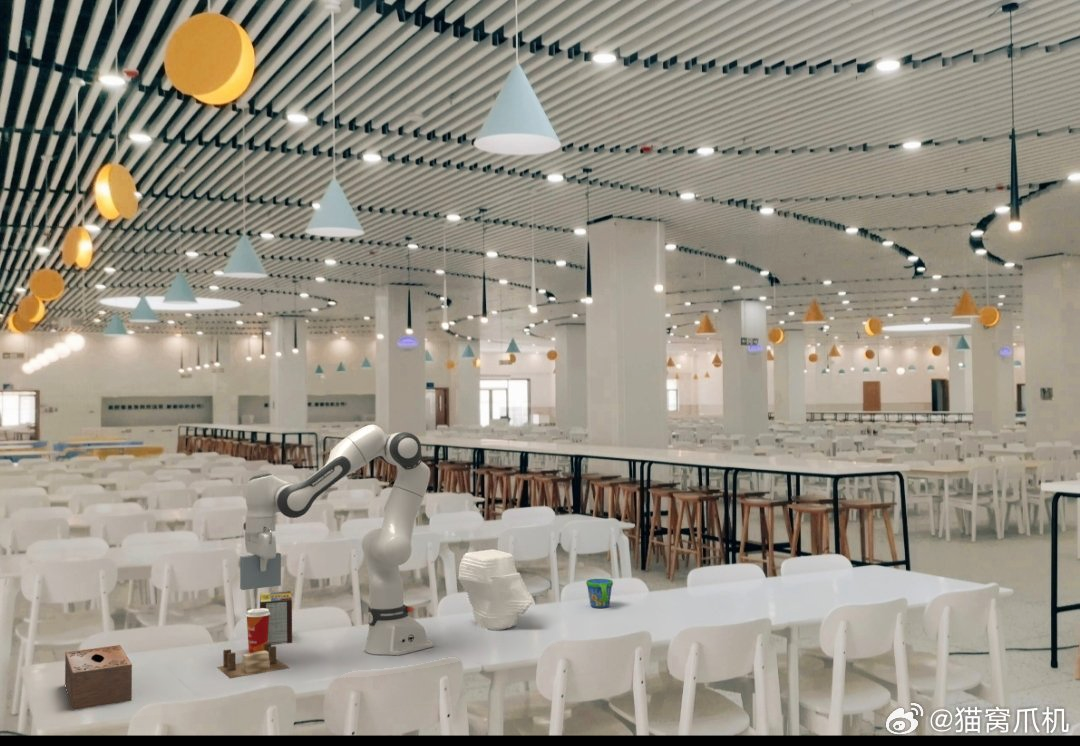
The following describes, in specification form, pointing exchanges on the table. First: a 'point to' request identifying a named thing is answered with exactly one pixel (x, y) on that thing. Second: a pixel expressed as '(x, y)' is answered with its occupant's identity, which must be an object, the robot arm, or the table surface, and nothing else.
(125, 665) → the tissue box cover
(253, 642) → the paper cup
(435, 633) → the table surface
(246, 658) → the offcut upper
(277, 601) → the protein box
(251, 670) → the offcut lower
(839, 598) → the table surface
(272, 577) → the panel
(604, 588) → the snack cup
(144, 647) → the table surface
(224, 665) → the rack
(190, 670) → the table surface
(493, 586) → the white faceted lump
